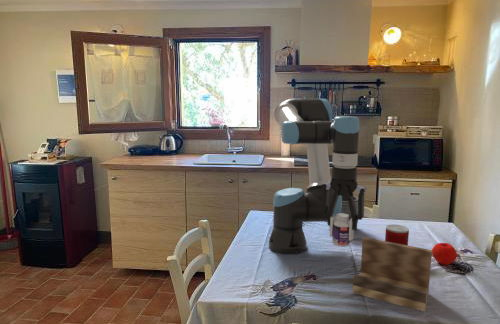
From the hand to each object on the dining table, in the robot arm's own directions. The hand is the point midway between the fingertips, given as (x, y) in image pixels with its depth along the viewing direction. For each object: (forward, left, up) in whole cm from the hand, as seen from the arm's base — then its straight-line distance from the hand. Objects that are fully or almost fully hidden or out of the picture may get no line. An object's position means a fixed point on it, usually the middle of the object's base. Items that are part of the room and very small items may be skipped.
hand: (341, 237), depth 114 cm
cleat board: (+16, 0, -15) cm, 22 cm away
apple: (+29, +31, -15) cm, 45 cm away
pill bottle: (0, 0, -3) cm, 3 cm away
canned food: (+13, +29, -15) cm, 35 cm away
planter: (-13, +47, -15) cm, 51 cm away
